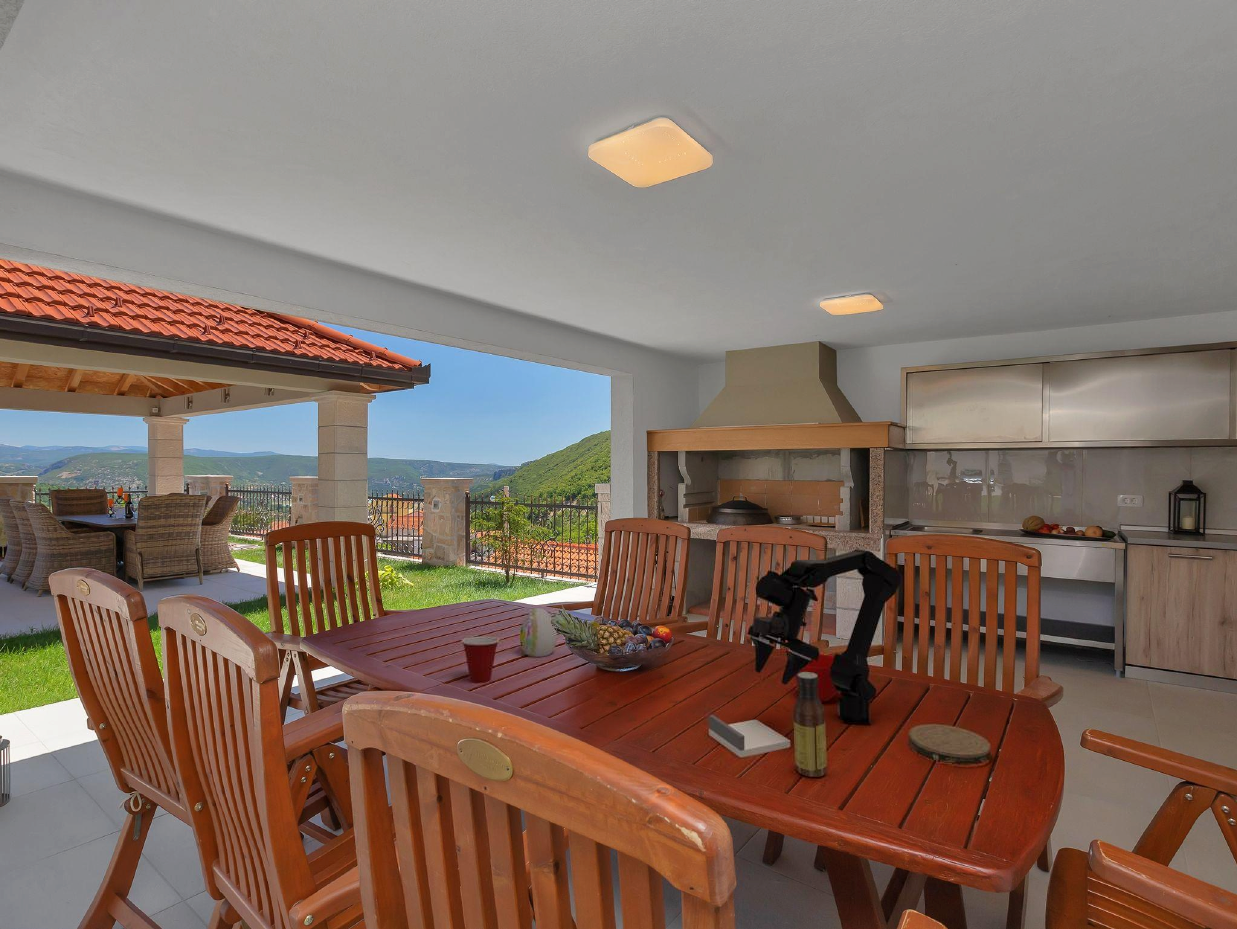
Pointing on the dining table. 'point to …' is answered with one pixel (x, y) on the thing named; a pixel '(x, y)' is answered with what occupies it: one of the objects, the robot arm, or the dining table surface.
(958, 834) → the dining table surface
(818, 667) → the ceramic cup
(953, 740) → the grey-brown flat disc
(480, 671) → the plastic cup
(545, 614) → the decorative egg
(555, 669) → the dining table surface
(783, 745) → the display stand
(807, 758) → the sauce bottle
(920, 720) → the dining table surface
